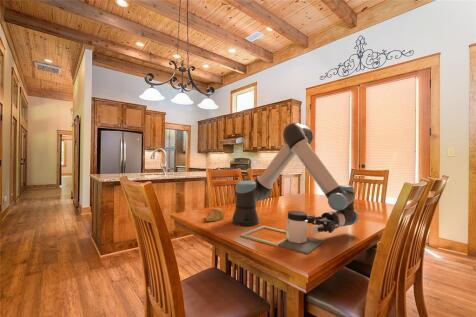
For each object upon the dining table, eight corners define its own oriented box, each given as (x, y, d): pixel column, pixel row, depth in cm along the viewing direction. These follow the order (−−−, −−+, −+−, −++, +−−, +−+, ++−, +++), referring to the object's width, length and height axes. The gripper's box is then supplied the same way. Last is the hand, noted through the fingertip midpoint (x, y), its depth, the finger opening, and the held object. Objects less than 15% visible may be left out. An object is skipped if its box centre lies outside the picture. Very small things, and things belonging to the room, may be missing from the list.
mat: (279, 246, 94) (279, 245, 94) (298, 235, 108) (298, 234, 108) (308, 254, 87) (308, 253, 87) (324, 241, 101) (324, 240, 101)
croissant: (211, 229, 128) (217, 217, 126) (197, 219, 131) (203, 207, 130) (226, 219, 148) (232, 209, 146) (214, 211, 151) (219, 200, 149)
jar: (295, 244, 95) (297, 216, 95) (282, 238, 102) (283, 211, 101) (310, 241, 100) (311, 213, 99) (296, 235, 106) (297, 209, 106)
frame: (240, 236, 106) (240, 234, 106) (263, 227, 122) (263, 225, 122) (277, 246, 94) (277, 244, 94) (297, 234, 109) (297, 233, 109)
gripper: (357, 235, 96) (322, 244, 86) (311, 221, 118) (279, 227, 107) (357, 217, 96) (323, 224, 86) (311, 207, 118) (279, 211, 107)
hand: (298, 226), depth 96 cm, fingers open, 13 cm apart
